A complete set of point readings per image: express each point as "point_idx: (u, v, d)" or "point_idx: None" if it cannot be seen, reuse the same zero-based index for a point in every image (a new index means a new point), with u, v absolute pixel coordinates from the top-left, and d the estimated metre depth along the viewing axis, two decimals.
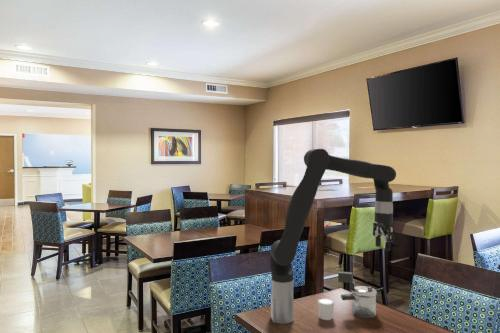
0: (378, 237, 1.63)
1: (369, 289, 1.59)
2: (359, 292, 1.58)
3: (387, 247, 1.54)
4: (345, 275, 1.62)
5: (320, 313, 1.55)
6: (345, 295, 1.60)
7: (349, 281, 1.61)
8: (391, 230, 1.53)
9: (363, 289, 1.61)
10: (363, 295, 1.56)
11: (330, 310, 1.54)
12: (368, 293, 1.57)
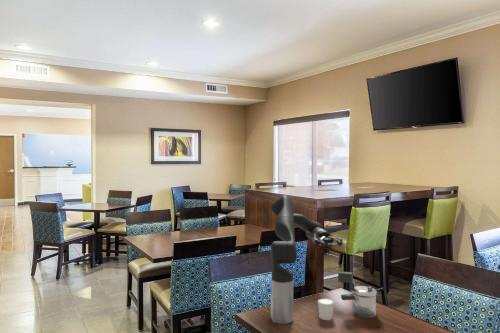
0: None
1: (369, 289, 1.59)
2: (359, 292, 1.58)
3: (340, 242, 1.81)
4: (345, 275, 1.62)
5: (320, 313, 1.55)
6: (345, 295, 1.60)
7: (349, 281, 1.61)
8: None
9: (363, 289, 1.61)
10: (363, 295, 1.56)
11: (330, 310, 1.54)
12: (368, 293, 1.57)
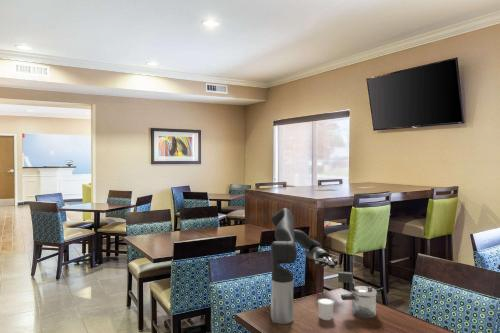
0: None
1: (369, 289, 1.59)
2: (359, 292, 1.58)
3: (334, 264, 1.79)
4: (345, 275, 1.62)
5: (320, 313, 1.55)
6: (345, 295, 1.60)
7: (349, 281, 1.61)
8: (338, 261, 1.85)
9: (363, 289, 1.61)
10: (363, 295, 1.56)
11: (330, 310, 1.54)
12: (368, 293, 1.57)
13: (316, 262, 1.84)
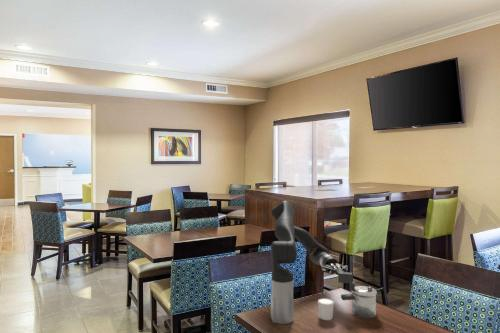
0: None
1: (369, 289, 1.59)
2: (360, 292, 1.58)
3: (342, 271, 1.66)
4: (346, 275, 1.61)
5: (320, 313, 1.55)
6: (345, 295, 1.60)
7: (349, 281, 1.61)
8: (347, 268, 1.73)
9: (363, 289, 1.61)
10: (364, 295, 1.56)
11: (330, 310, 1.54)
12: (369, 293, 1.57)
13: (323, 269, 1.72)
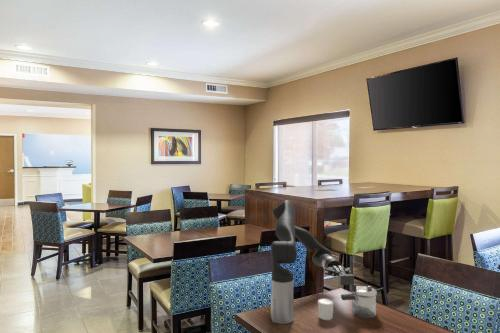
0: None
1: (369, 288, 1.60)
2: (363, 293, 1.57)
3: None
4: (348, 277, 1.59)
5: (320, 313, 1.55)
6: (345, 295, 1.60)
7: (351, 283, 1.59)
8: (349, 270, 1.69)
9: (363, 289, 1.61)
10: (368, 295, 1.55)
11: (330, 310, 1.54)
12: (371, 292, 1.57)
13: (325, 271, 1.69)
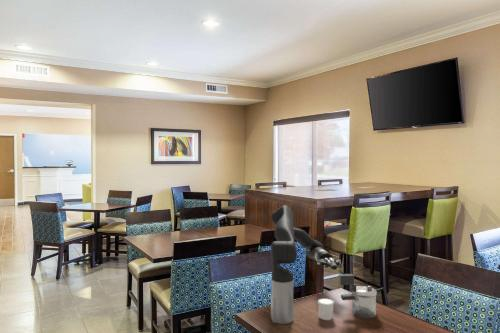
0: None
1: (369, 288, 1.60)
2: (363, 293, 1.57)
3: (336, 265, 1.76)
4: (348, 277, 1.59)
5: (320, 313, 1.55)
6: (345, 295, 1.60)
7: (351, 283, 1.59)
8: (340, 262, 1.83)
9: (363, 289, 1.61)
10: (368, 295, 1.55)
11: (330, 310, 1.54)
12: (371, 292, 1.57)
13: (318, 263, 1.82)
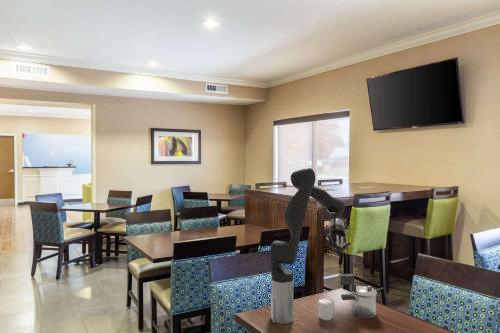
0: None
1: (369, 288, 1.60)
2: (363, 293, 1.57)
3: (342, 251, 1.71)
4: (348, 277, 1.59)
5: (320, 313, 1.55)
6: (345, 295, 1.60)
7: (351, 283, 1.59)
8: (349, 245, 1.77)
9: (363, 289, 1.61)
10: (368, 295, 1.55)
11: (330, 310, 1.54)
12: (371, 292, 1.57)
13: (327, 238, 1.76)
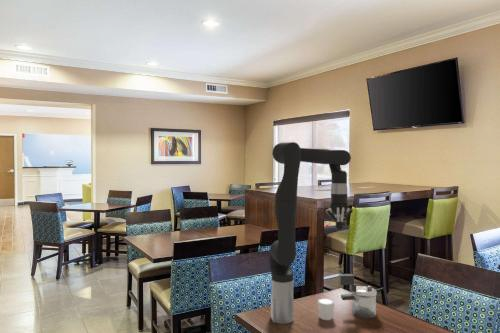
0: None
1: (369, 288, 1.60)
2: (363, 293, 1.57)
3: (341, 226, 1.71)
4: (348, 277, 1.59)
5: (320, 313, 1.55)
6: (345, 295, 1.60)
7: (351, 283, 1.59)
8: None
9: (363, 289, 1.61)
10: (368, 295, 1.55)
11: (330, 310, 1.54)
12: (371, 292, 1.57)
13: (327, 212, 1.71)
